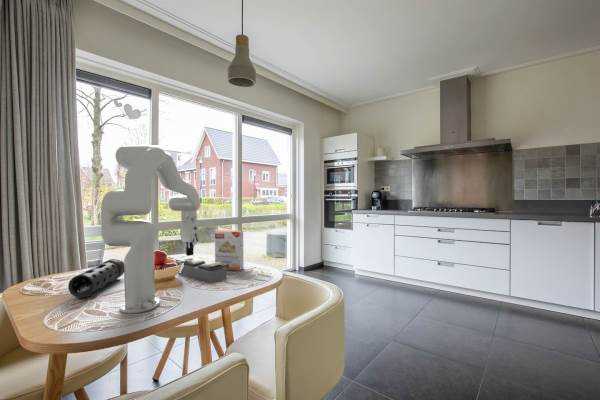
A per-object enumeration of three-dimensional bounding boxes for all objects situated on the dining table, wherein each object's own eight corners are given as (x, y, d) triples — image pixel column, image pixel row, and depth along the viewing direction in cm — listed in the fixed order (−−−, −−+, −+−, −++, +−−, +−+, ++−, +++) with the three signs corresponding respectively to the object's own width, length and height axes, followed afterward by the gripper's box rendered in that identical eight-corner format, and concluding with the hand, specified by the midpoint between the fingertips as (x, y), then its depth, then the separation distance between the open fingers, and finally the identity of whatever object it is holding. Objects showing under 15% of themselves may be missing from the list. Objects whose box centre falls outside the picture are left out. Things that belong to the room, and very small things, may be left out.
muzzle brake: (67, 301, 108) (66, 274, 108) (106, 279, 136) (105, 258, 135) (94, 299, 109) (94, 273, 109) (127, 278, 137) (126, 257, 137)
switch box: (226, 277, 136) (226, 265, 136) (210, 282, 129) (210, 269, 128) (194, 269, 151) (194, 258, 151) (178, 273, 144) (178, 261, 143)
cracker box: (214, 270, 149) (214, 231, 149) (219, 267, 155) (219, 229, 155) (239, 271, 147) (239, 231, 147) (243, 268, 153) (243, 230, 153)
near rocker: (220, 265, 135) (219, 261, 135) (211, 268, 131) (211, 264, 131) (209, 265, 140) (209, 262, 140) (201, 268, 136) (200, 264, 136)
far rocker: (202, 264, 144) (202, 260, 143) (193, 266, 139) (193, 262, 139) (192, 259, 148) (193, 256, 148) (184, 261, 144) (184, 258, 144)
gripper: (204, 220, 144) (205, 255, 144) (187, 218, 152) (187, 252, 153) (191, 221, 137) (192, 258, 138) (174, 219, 146) (175, 254, 147)
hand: (189, 255), depth 146 cm, fingers closed
